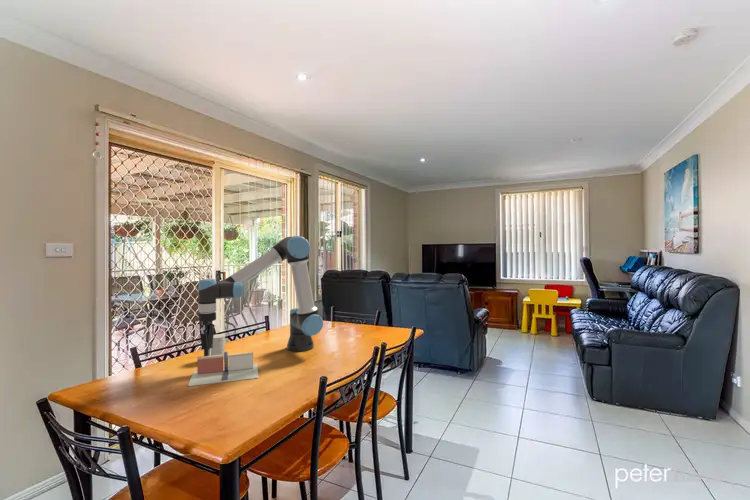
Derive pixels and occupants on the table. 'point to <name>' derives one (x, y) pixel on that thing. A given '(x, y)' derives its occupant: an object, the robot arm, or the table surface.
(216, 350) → the cup
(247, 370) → the card
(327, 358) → the table surface
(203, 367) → the red rectangular panel
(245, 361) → the fence fixed
